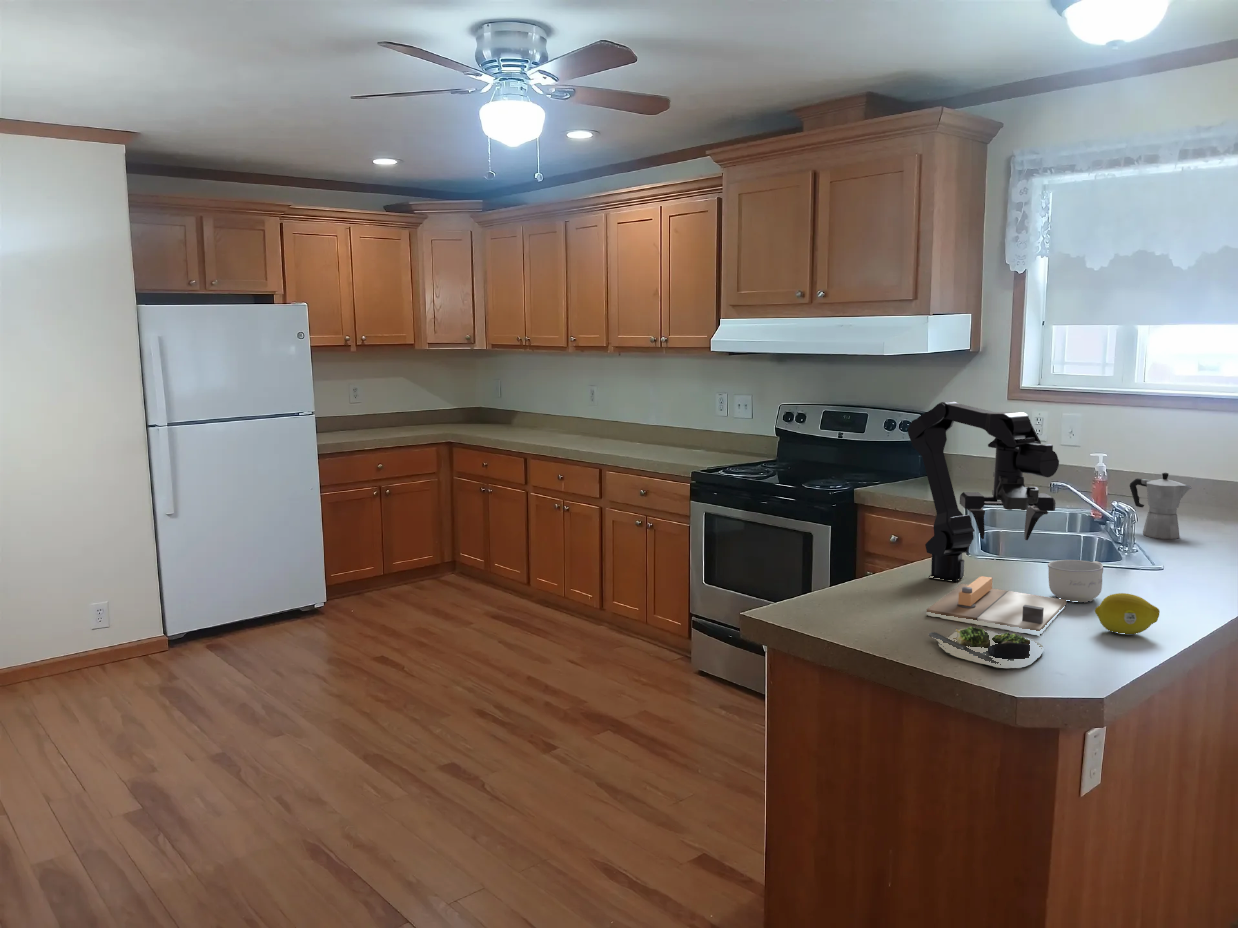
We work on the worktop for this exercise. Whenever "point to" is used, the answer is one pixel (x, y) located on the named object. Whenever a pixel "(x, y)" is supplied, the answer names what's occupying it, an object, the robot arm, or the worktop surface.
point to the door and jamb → (1002, 608)
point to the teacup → (1075, 579)
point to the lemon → (1126, 613)
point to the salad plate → (974, 637)
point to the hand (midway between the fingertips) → (1004, 539)
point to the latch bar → (975, 591)
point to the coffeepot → (1161, 506)
